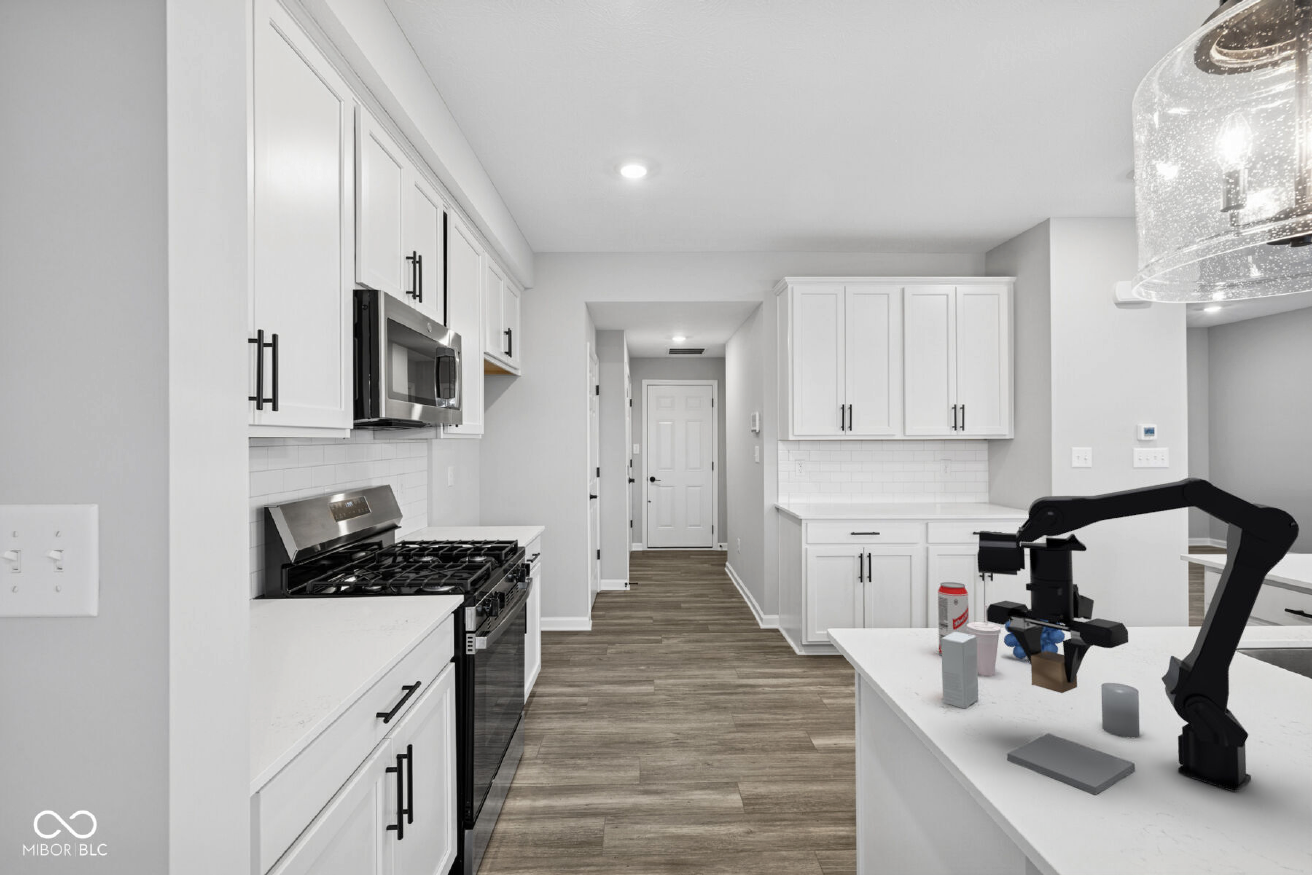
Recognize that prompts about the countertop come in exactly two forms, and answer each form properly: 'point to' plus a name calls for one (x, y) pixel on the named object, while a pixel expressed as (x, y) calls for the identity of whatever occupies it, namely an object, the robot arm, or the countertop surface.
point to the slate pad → (1071, 763)
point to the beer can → (952, 609)
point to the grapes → (1047, 641)
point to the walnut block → (1050, 672)
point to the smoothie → (985, 645)
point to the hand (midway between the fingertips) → (1054, 677)
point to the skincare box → (959, 669)
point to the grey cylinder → (1120, 710)
